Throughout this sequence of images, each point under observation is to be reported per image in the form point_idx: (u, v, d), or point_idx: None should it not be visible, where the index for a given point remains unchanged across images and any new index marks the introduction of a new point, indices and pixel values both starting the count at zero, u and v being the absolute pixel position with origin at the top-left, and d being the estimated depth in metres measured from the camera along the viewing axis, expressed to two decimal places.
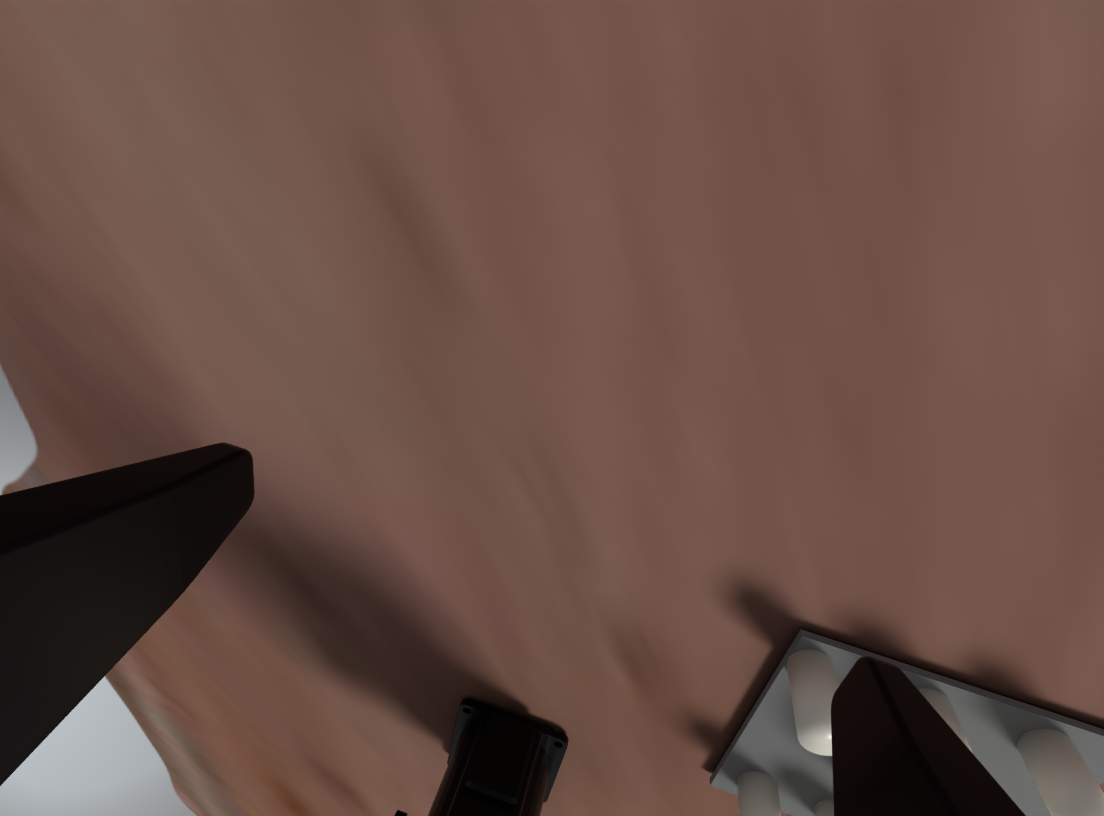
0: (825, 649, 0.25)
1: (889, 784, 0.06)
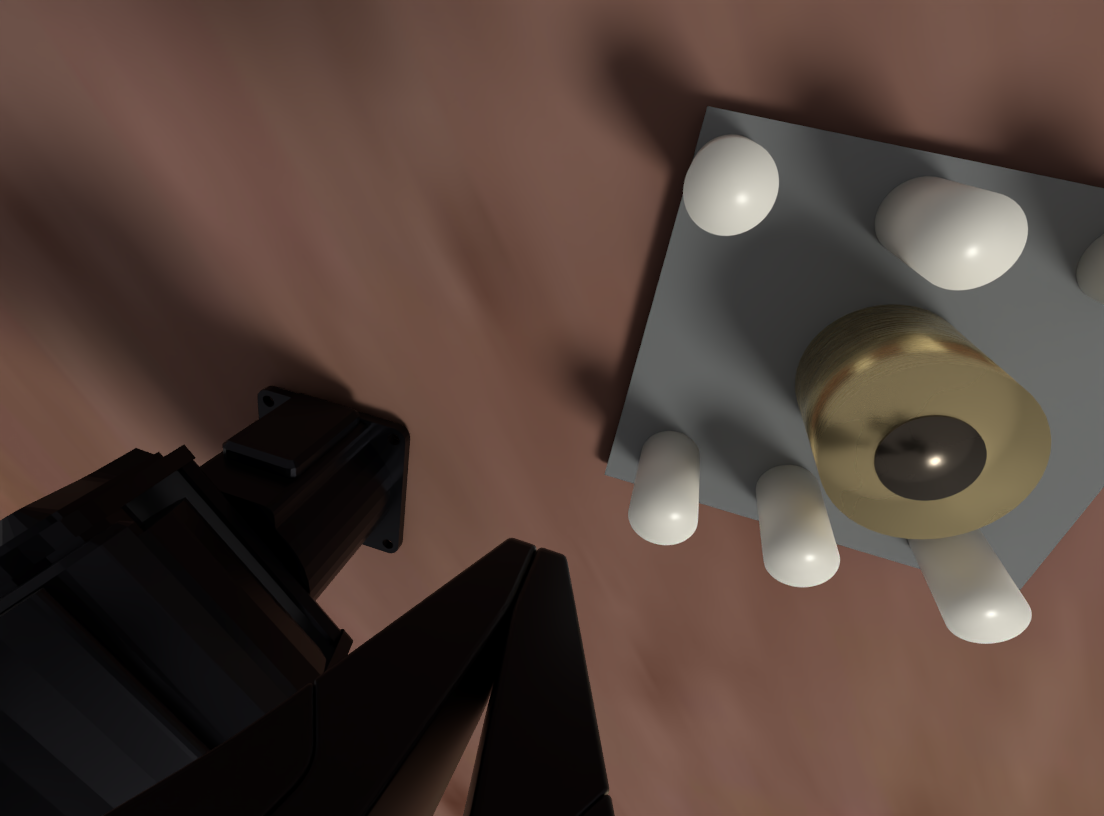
0: (747, 127, 0.15)
1: (502, 647, 0.07)
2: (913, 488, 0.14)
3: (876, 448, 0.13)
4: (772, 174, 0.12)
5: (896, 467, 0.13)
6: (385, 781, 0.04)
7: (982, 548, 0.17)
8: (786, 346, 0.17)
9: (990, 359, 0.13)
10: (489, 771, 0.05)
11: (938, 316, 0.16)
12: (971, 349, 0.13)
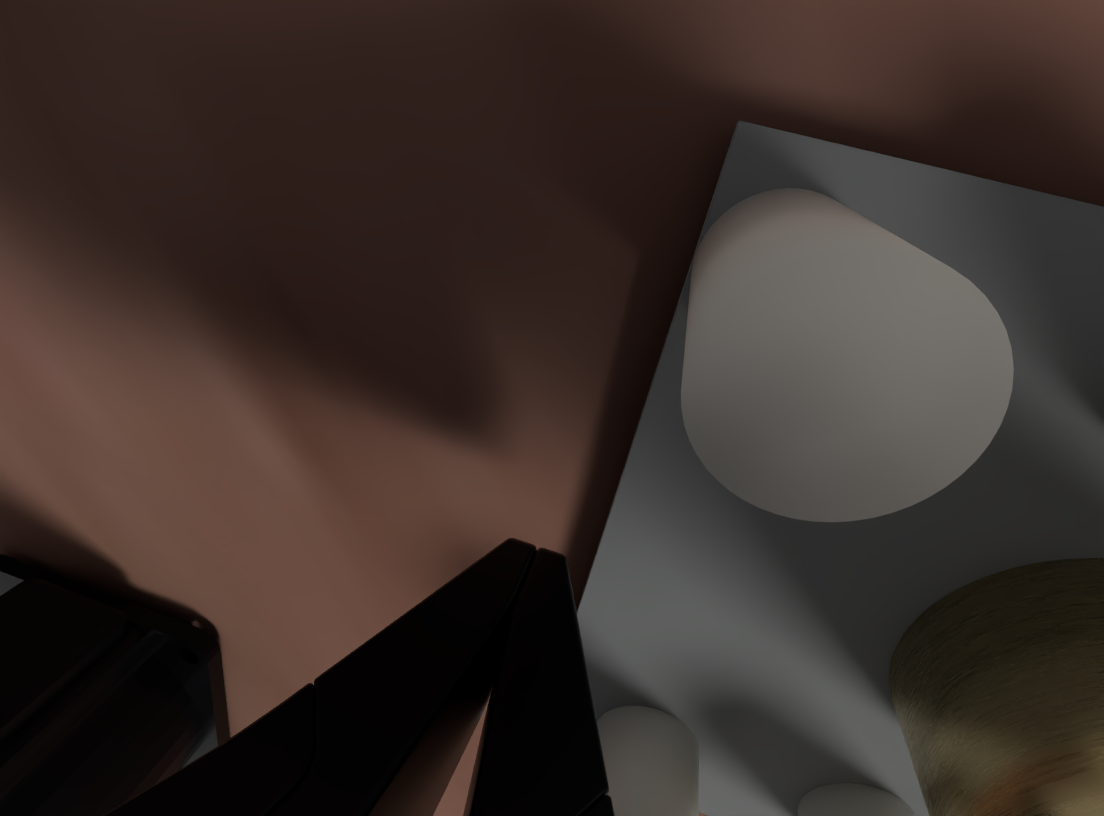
0: (833, 174, 0.06)
1: (502, 647, 0.07)
2: None
3: None
4: (990, 369, 0.04)
5: None
6: (385, 781, 0.04)
7: None
8: (879, 607, 0.09)
9: None
10: (489, 771, 0.05)
11: None
12: None
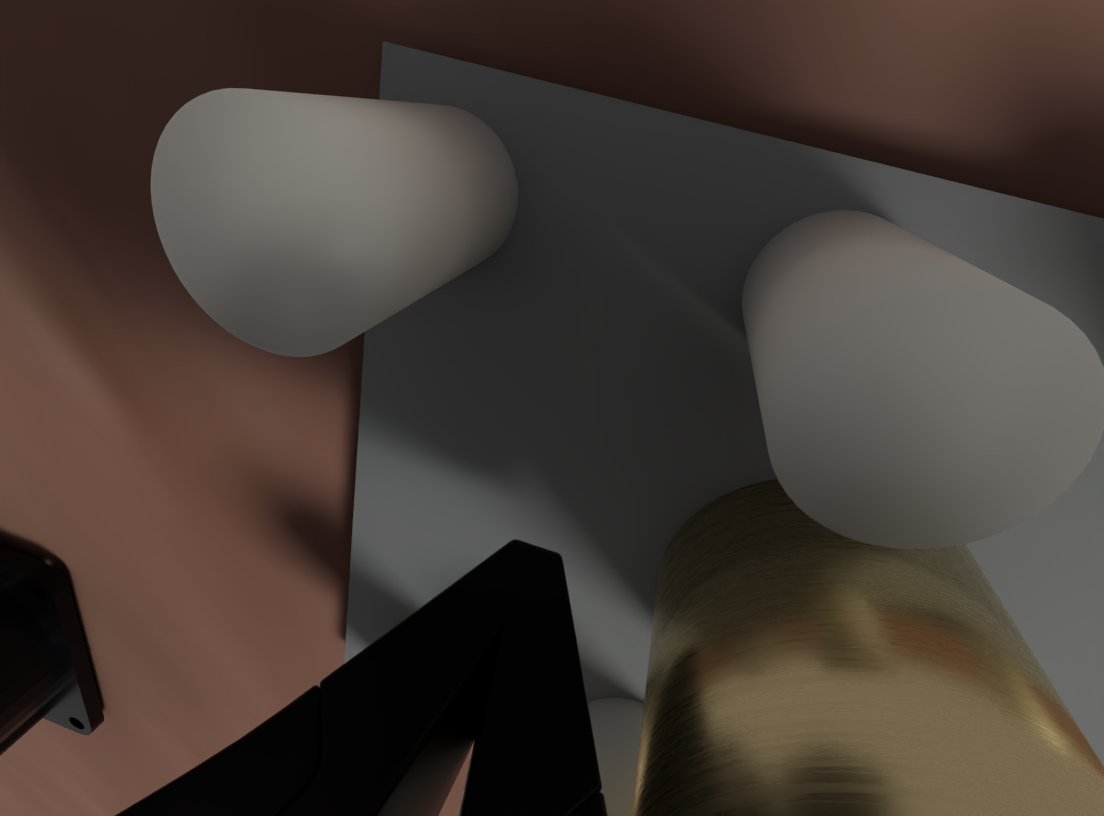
0: (467, 90, 0.07)
1: None
2: None
3: None
4: (358, 200, 0.04)
5: None
6: (392, 784, 0.04)
7: None
8: (598, 516, 0.09)
9: (1052, 714, 0.05)
10: (482, 768, 0.05)
11: None
12: (1004, 687, 0.05)
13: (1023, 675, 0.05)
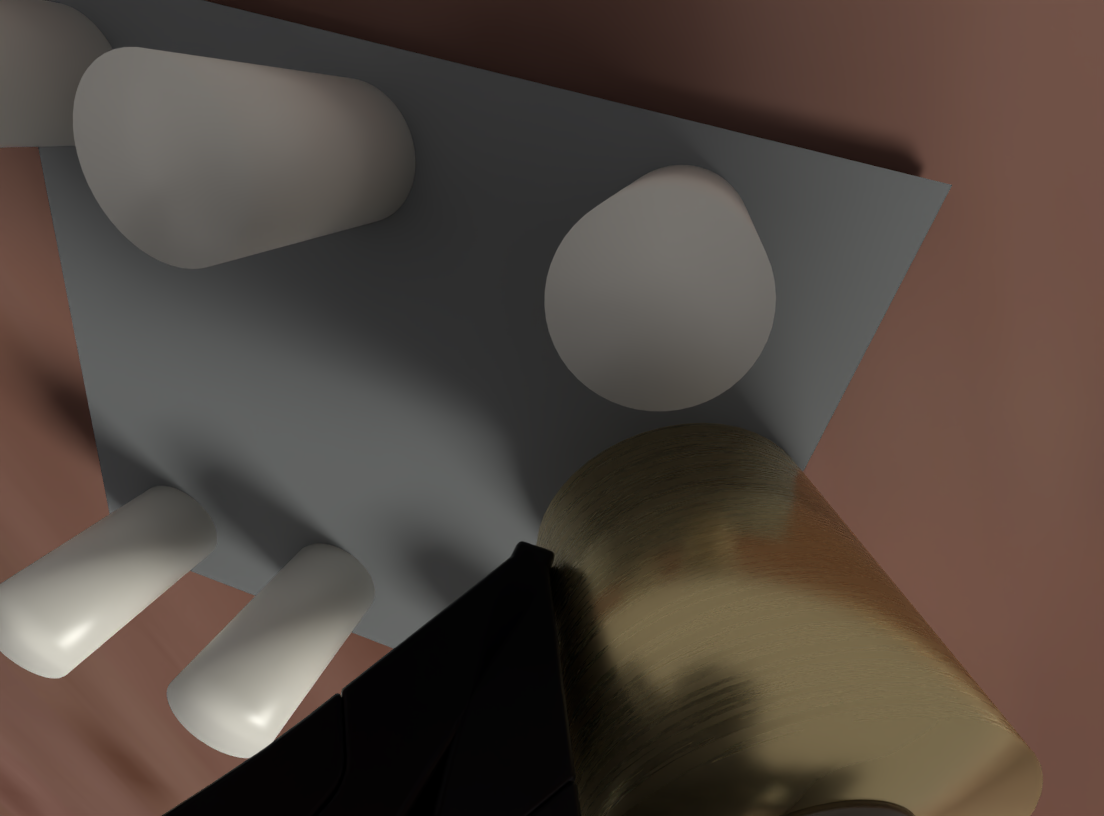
0: None
1: None
2: None
3: None
4: None
5: None
6: (417, 794, 0.04)
7: None
8: (256, 367, 0.11)
9: (894, 597, 0.06)
10: (455, 758, 0.05)
11: (759, 439, 0.08)
12: (860, 587, 0.06)
13: (867, 570, 0.06)
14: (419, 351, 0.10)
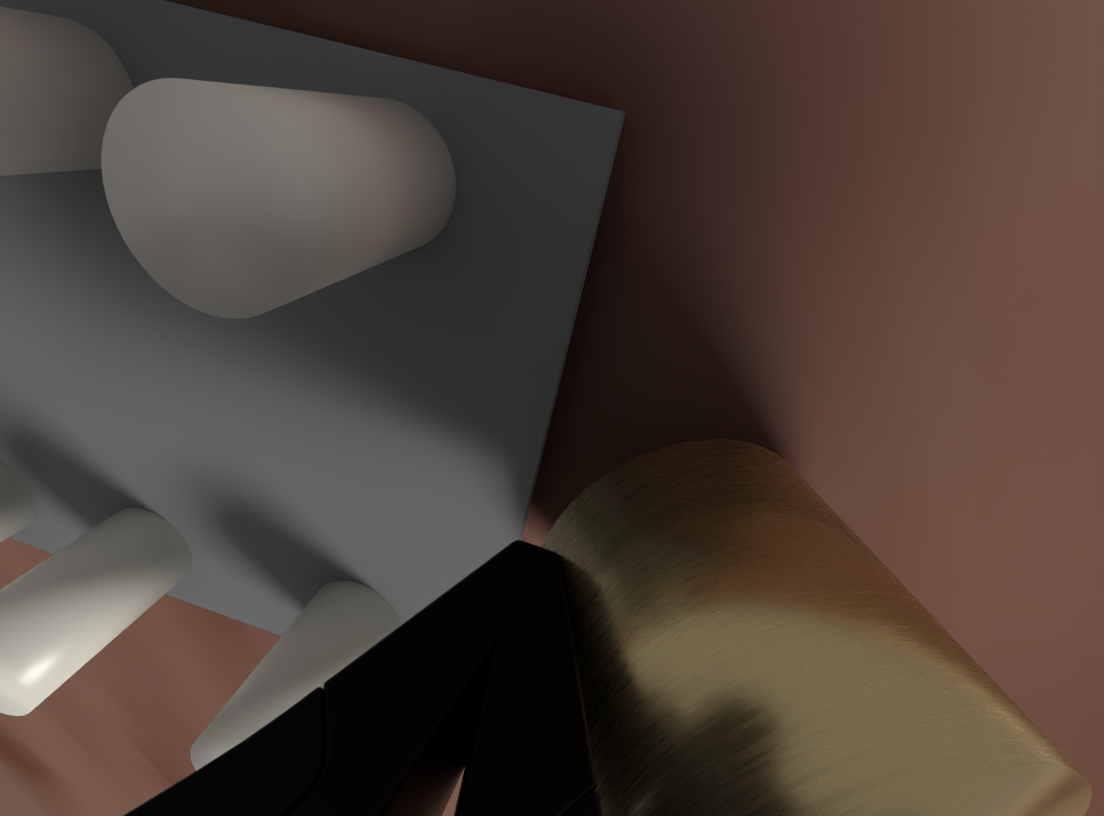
0: None
1: None
2: None
3: None
4: None
5: None
6: (396, 786, 0.04)
7: (311, 652, 0.10)
8: (37, 324, 0.11)
9: (929, 623, 0.06)
10: (477, 766, 0.05)
11: (763, 452, 0.08)
12: (898, 617, 0.06)
13: (898, 594, 0.06)
14: (181, 302, 0.10)
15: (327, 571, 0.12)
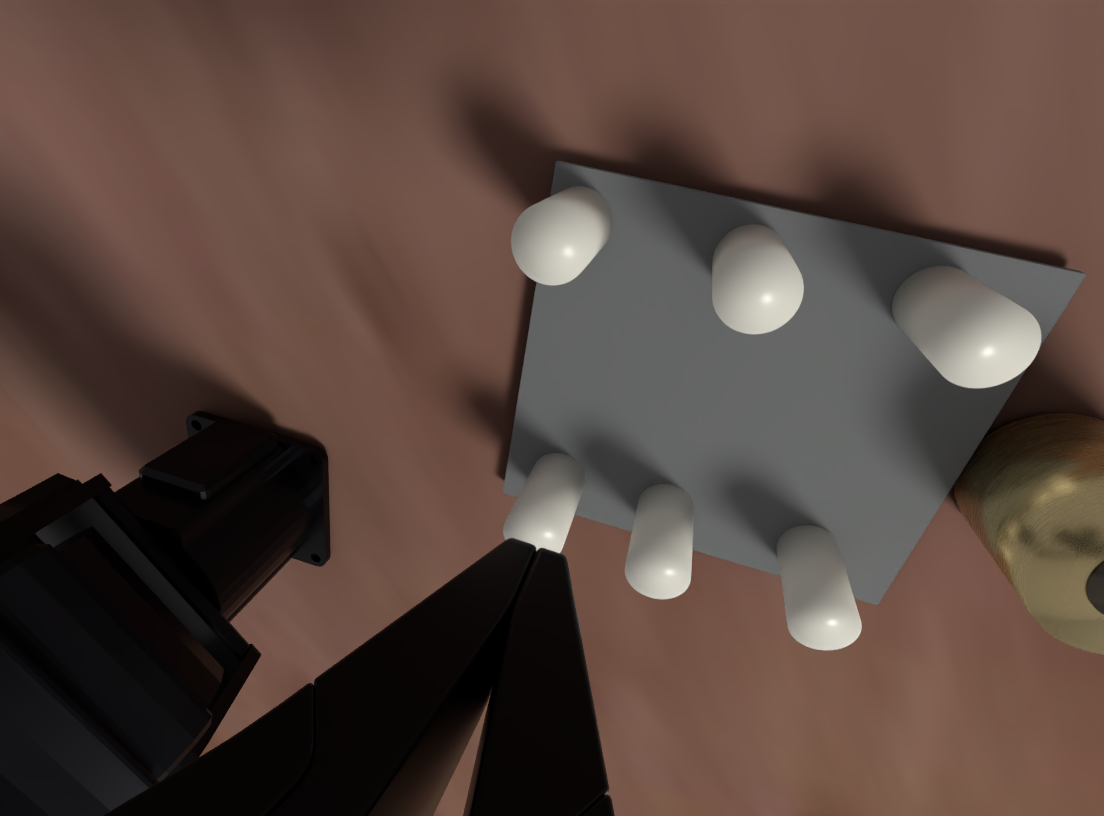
0: (592, 180, 0.16)
1: None
2: None
3: (1089, 575, 0.14)
4: (584, 232, 0.14)
5: None
6: (385, 781, 0.04)
7: (828, 561, 0.18)
8: (649, 376, 0.19)
9: None
10: (489, 771, 0.05)
11: None
12: None
13: None
14: (763, 363, 0.18)
15: (796, 519, 0.20)
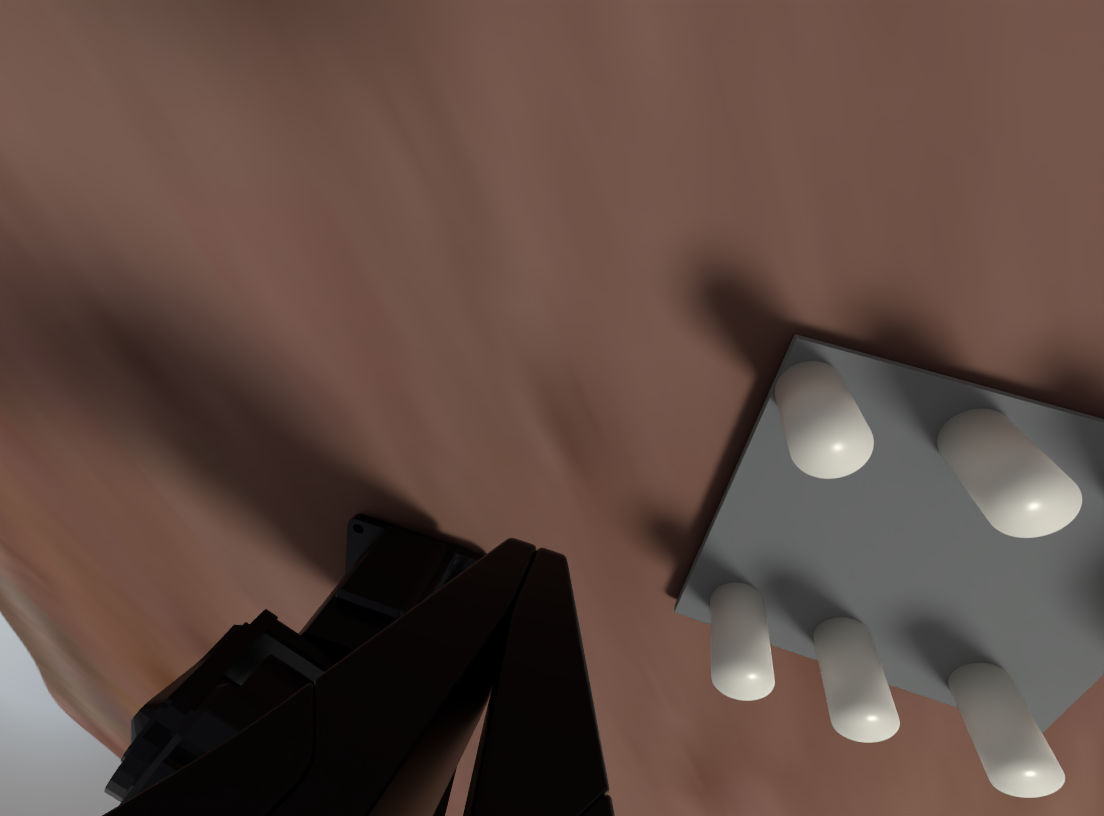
0: (830, 357, 0.17)
1: (502, 646, 0.07)
2: None
3: None
4: (868, 439, 0.15)
5: None
6: (385, 781, 0.04)
7: (1019, 709, 0.19)
8: (851, 525, 0.20)
9: None
10: (489, 771, 0.05)
11: None
12: None
13: None
14: (970, 524, 0.19)
15: (973, 657, 0.21)
